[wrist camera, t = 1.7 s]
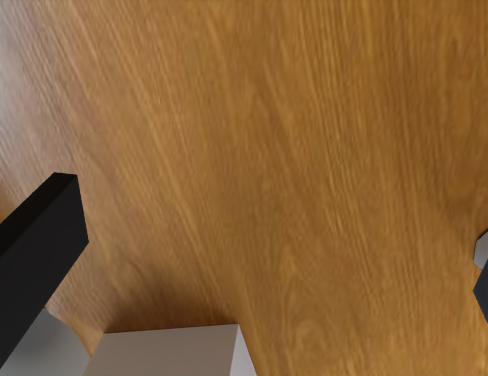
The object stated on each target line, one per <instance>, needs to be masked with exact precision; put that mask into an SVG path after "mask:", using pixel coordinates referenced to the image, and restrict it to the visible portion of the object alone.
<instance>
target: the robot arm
mask: <svg viewBox="0 0 488 376" xmlns="http://www.w3.org/2000/svg"><path fill="white" fill-rule="evenodd" d="M88 243H89V240H88V234H87V229H86V223H85V217H84V211H83V206H82V200H81V194H80V189H79V183H78V177H77V175H74V174H66V173H57V172H54V173H53V174H52V175H51V176H50V177H49V178H48V179H47V180H46V181H45V182H43V183H42V184H41V185H40V186H39V187H38V188H37V189H36V190H35V191H34V192H33V193H32V194H31V195H30V196H29V197H28V198H27V199H26V200H25V201H24V202H23V203H22V204H21V205H19V206H18V207H17V208H16V209H15V210H14V211H13V212H12V213H11V214H10V215H9V216H8V217H7V218H6V219H5V220H4V221H3V222H2V223H1V224H0V369H1V367H2V366H3V364H4V363H5V362H6V360H7V359H8V357H9V356H10V354H11V353H12V352H13V350H14V349H15V347H16V346H17V344H18V343H19V342H20V340H21V338H22V337H23V336H24V334H25V333H26V331H27V330H28V329H29V327H30V325H31V324H32V323H33V321H34V320H35V319H36V317H37V316H38V314H39V313H40V312H41V310H42V309H43V307H44V306H45V304H46V303H47V302H48V300H49V299H50V297H51V296H52V294H53V293H54V292H55V290H56V289H57V287H58V286H59V284H60V283H61V282H62V280H63V279H64V277H65V276H66V274H67V273H68V272H69V270H70V269H71V267H72V266H73V264H74V263H75V262H76V260H77V259H78V257H79V256H80V254H81V253H82V252H83V250H84V249H85V247H86V246H87V244H88ZM473 292H474V295H475V297H476V299H477V301H478V303H479V306H480V308H481V310H482V312H483V314H484V317H485V319H486V321H487V323H488V259H487V261H486V263H485V265H484V268H483V270H482V272H481V274H480V276H479V278H478V281H477V283H476V285H475V287H474V289H473Z"/></svg>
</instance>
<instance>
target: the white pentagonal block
mask: <svg viewBox="0 0 488 376" xmlns="http://www.w3.org/2000/svg"><path fill="white" fill-rule="evenodd" d="M82 376H257V375H256V372H255V369H254V366H253V363H252V361H251V358H250V355H249V352H248V349H247V346H246V343H245V341H244V338H243V335H242V332H241V329H240V326H239V324H229V325H215V326H202V327H188V328H175V329H162V330H148V331H135V332H121V333H108V334H103V336H102V338H101V339H100V341H99V343H98V345H97V347H96V349H95V351H94V353H93V355H92V357H91V359H90V362H89V363H88V365H87V367H86V369H85V371H84V373H83V375H82Z"/></svg>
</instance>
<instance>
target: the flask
mask: <svg viewBox="0 0 488 376" xmlns="http://www.w3.org/2000/svg"><path fill="white" fill-rule="evenodd" d="M487 259H488V232H487V233H485V234H484V235H483V236H482V237H481V238H480V239H479V240H478V241H477V242H476V249H475V256H474V264H475V265H476V266H477V267H479V268H480V269H481V270H483V268H484V265H485V263H486V261H487Z"/></svg>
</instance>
